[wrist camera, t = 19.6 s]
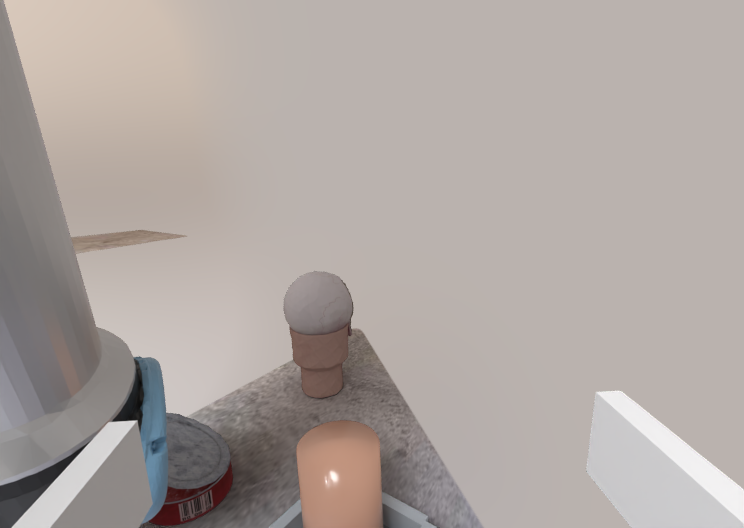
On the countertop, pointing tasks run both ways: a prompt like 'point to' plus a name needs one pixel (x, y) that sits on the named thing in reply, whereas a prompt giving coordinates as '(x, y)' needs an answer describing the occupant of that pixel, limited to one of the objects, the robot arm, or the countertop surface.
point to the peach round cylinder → (340, 476)
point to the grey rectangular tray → (399, 519)
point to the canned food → (193, 471)
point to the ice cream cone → (319, 330)
